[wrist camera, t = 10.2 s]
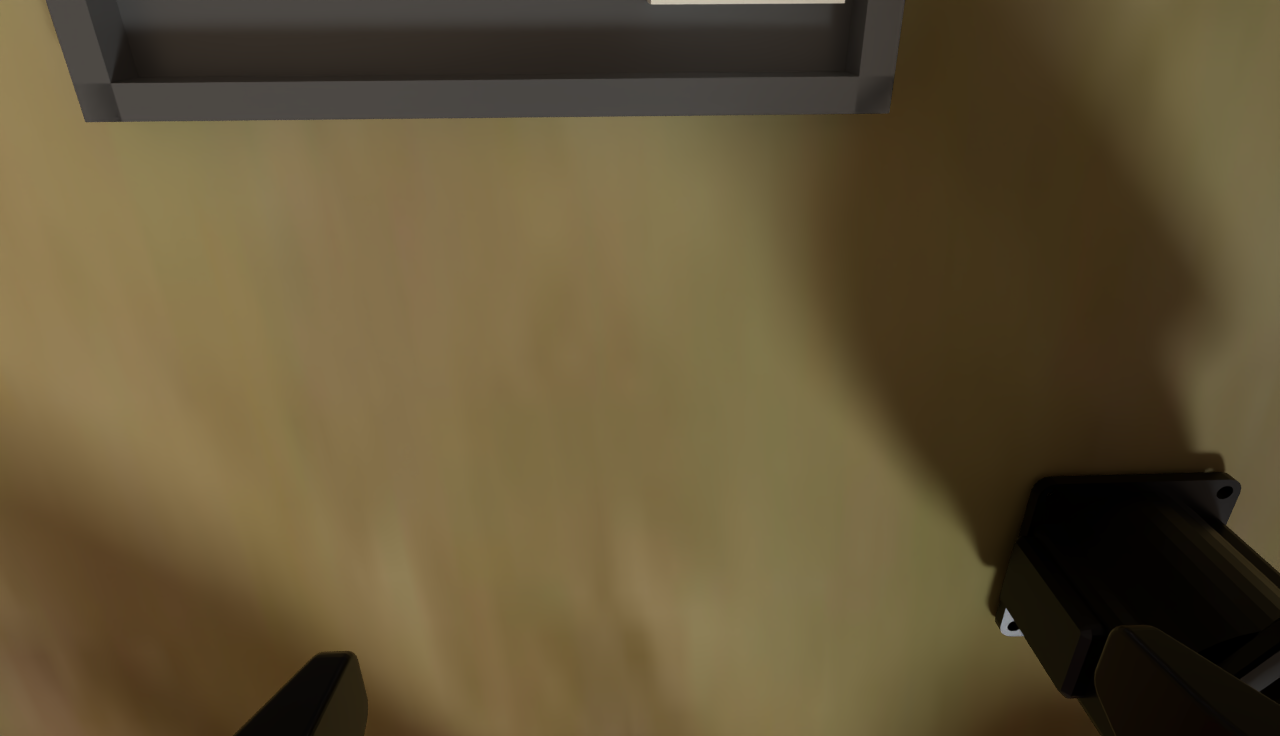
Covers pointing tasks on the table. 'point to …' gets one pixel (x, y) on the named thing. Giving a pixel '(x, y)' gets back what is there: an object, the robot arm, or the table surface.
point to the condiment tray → (476, 58)
